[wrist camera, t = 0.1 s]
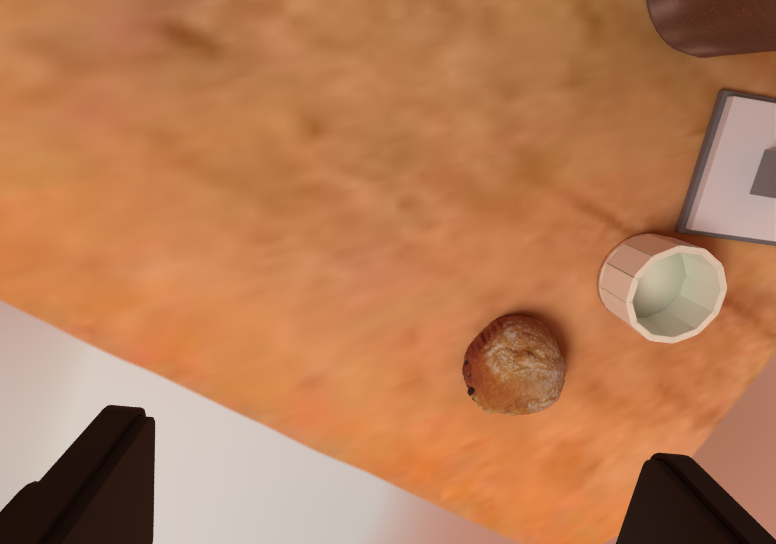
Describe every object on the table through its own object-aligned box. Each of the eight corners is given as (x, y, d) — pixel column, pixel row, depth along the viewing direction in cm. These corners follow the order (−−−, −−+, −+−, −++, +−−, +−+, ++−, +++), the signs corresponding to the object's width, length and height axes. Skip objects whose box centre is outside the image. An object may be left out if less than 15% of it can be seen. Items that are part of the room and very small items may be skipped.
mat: (719, 90, 44) (724, 90, 43) (847, 112, 45) (853, 112, 44) (675, 231, 47) (679, 232, 46) (795, 247, 48) (800, 249, 48)
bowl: (611, 227, 47) (644, 240, 41) (697, 239, 47) (740, 253, 42) (587, 314, 49) (615, 336, 44) (669, 323, 50) (706, 347, 45)
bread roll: (544, 362, 54) (602, 378, 47) (484, 428, 51) (537, 456, 44) (501, 294, 52) (556, 300, 44) (435, 359, 48) (482, 377, 41)
